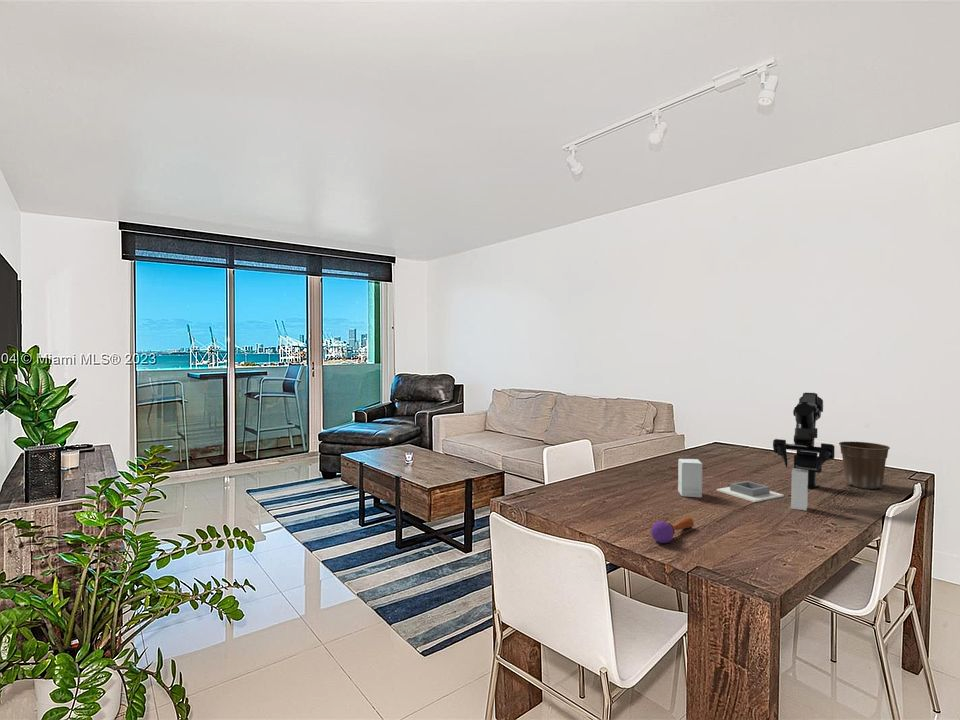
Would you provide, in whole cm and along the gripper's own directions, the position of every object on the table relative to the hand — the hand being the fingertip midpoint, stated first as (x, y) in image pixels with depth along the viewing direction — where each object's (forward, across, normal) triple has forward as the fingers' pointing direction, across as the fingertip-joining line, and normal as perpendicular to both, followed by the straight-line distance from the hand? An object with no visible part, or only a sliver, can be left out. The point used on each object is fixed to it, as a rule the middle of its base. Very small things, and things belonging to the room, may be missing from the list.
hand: (801, 468), depth 184 cm
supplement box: (+17, -35, +1) cm, 39 cm away
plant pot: (-20, +18, +38) cm, 46 cm away
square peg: (+13, 0, +4) cm, 14 cm away
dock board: (+7, -17, +11) cm, 21 cm away
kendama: (+49, -28, -31) cm, 65 cm away
